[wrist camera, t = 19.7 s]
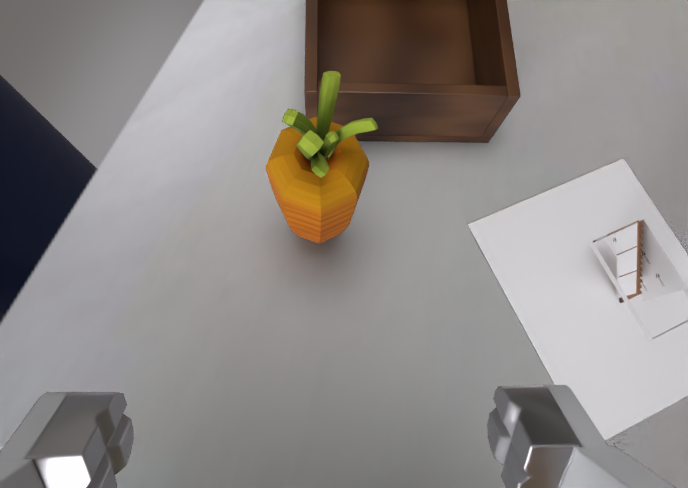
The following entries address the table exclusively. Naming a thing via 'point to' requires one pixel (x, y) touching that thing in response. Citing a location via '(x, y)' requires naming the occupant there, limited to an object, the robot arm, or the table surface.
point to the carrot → (319, 167)
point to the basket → (414, 66)
